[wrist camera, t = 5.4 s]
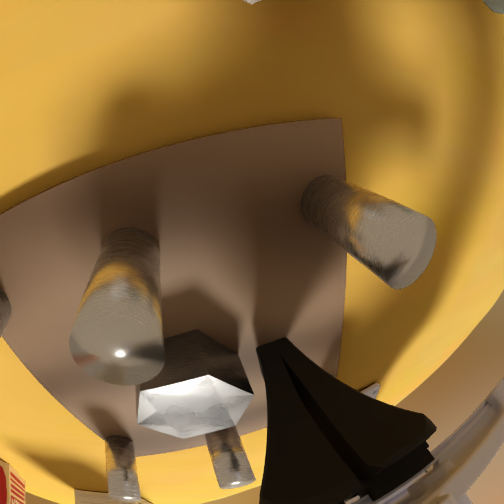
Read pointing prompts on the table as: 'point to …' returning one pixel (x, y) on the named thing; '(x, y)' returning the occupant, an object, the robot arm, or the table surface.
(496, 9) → the embossed plant pot
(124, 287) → the standoffs
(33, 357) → the standoff plate
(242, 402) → the silver short hexagonal block
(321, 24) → the table surface
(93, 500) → the supplement box
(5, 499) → the milk carton
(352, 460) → the robot arm
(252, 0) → the die
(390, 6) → the table surface
